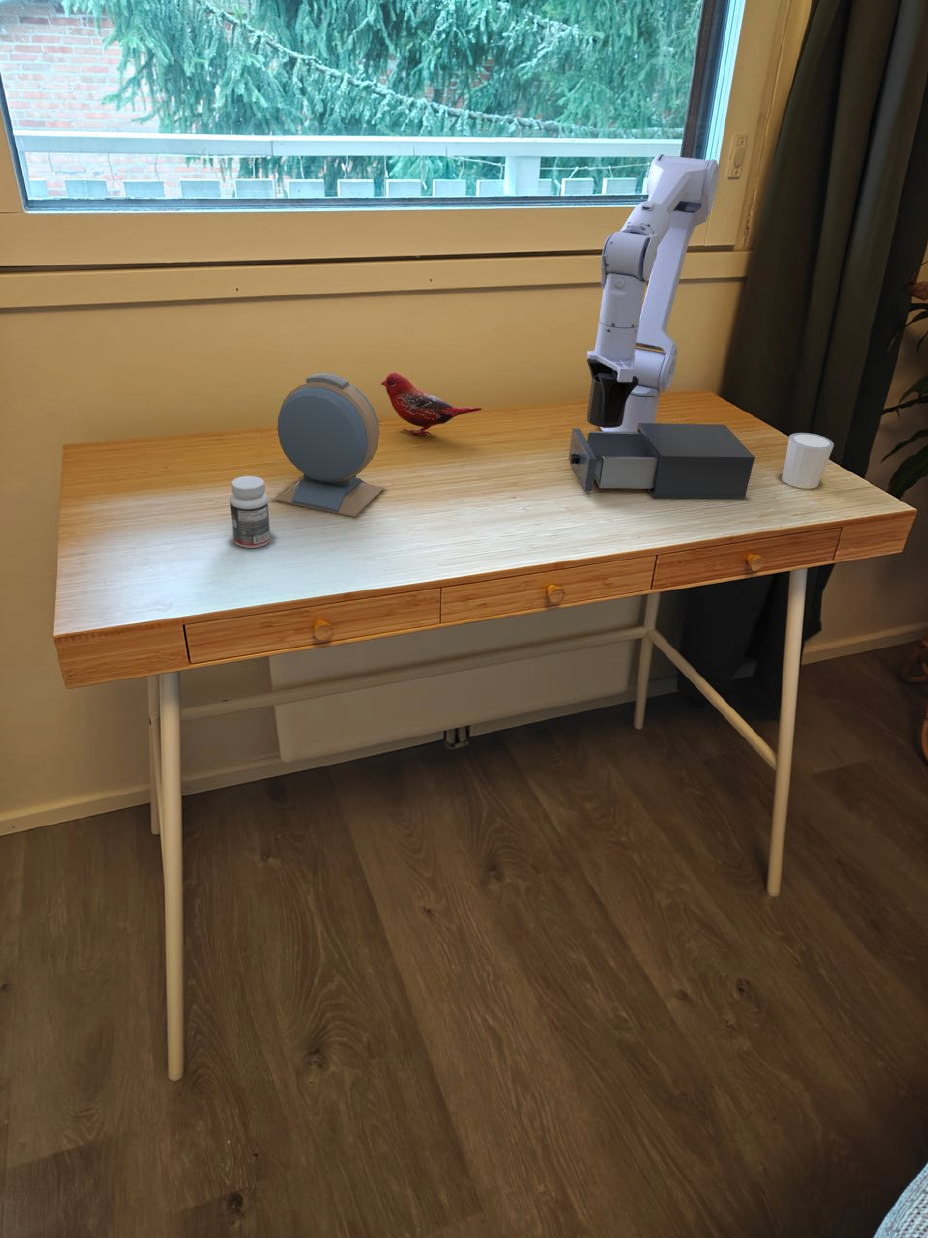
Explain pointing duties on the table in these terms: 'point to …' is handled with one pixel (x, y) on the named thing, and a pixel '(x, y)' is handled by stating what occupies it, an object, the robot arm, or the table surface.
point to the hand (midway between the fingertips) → (605, 413)
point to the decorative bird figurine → (419, 404)
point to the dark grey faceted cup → (599, 407)
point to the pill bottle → (249, 512)
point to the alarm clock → (329, 444)
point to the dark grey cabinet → (698, 461)
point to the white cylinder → (806, 459)
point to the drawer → (613, 459)
